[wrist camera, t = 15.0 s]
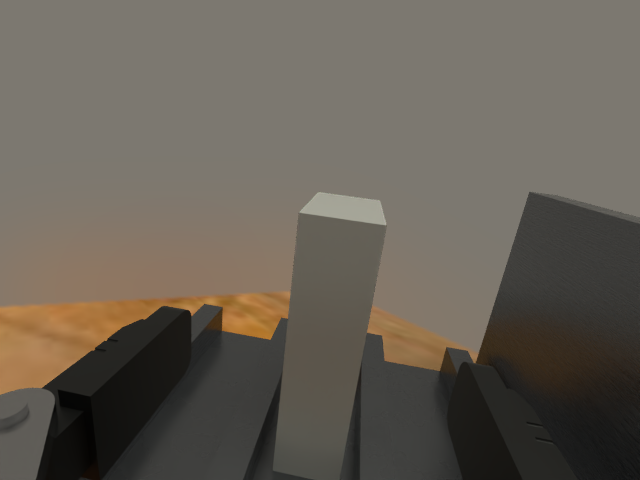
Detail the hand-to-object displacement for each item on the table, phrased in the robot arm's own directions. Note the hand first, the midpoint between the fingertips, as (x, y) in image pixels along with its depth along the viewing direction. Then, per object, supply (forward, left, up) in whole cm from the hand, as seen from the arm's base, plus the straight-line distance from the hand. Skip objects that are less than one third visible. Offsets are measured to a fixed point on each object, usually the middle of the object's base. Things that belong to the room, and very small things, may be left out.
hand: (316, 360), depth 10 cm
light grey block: (0, -5, -8) cm, 10 cm away
